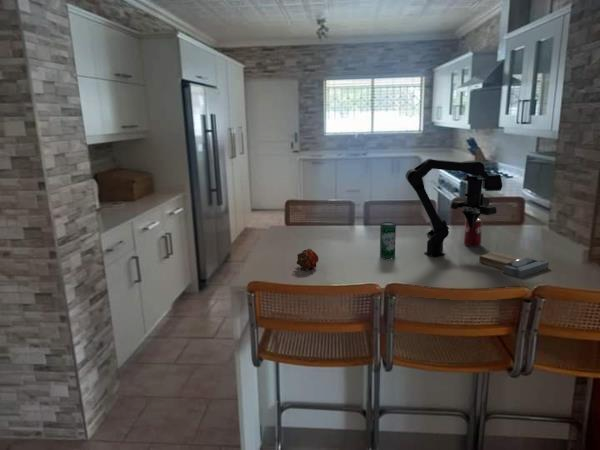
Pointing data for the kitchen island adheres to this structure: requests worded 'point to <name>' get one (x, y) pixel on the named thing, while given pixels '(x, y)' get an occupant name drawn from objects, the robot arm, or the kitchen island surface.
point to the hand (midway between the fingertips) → (471, 227)
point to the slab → (497, 259)
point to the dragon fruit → (307, 259)
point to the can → (387, 239)
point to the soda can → (473, 234)
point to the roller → (520, 262)
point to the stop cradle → (526, 268)
